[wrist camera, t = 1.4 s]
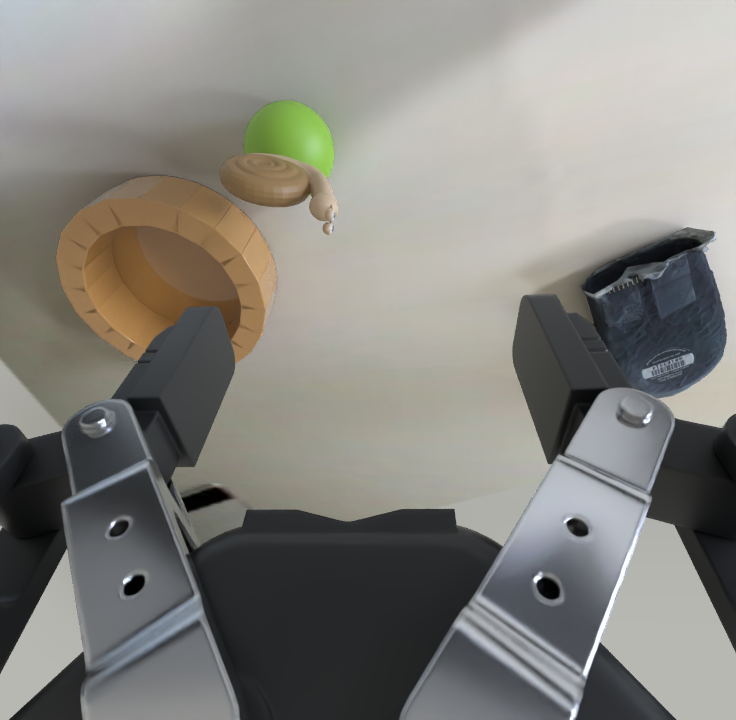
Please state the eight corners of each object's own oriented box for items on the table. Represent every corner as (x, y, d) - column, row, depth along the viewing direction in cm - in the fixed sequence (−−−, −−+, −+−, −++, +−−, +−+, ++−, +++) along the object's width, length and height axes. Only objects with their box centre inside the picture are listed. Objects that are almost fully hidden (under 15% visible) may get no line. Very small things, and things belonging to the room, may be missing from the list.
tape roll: (54, 179, 31) (12, 203, 28) (255, 170, 30) (237, 194, 27) (135, 341, 41) (111, 374, 37) (290, 339, 40) (280, 372, 36)
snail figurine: (346, 192, 31) (327, 277, 22) (255, 174, 30) (196, 253, 21) (359, 106, 27) (343, 163, 18) (256, 84, 27) (186, 132, 18)
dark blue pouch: (557, 275, 36) (612, 403, 42) (586, 300, 31) (644, 440, 37) (673, 212, 33) (714, 357, 40) (725, 228, 29) (762, 391, 35)
